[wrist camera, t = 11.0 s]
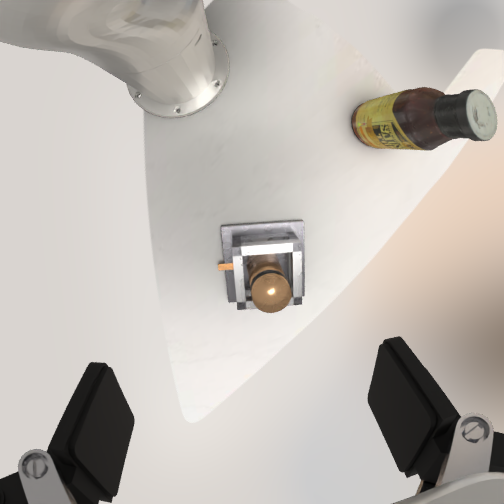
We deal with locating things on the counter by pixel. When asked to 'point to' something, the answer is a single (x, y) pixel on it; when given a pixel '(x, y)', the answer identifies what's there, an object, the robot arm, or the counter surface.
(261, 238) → the collar stand
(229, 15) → the counter surface
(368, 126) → the sauce bottle
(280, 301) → the copper tube
